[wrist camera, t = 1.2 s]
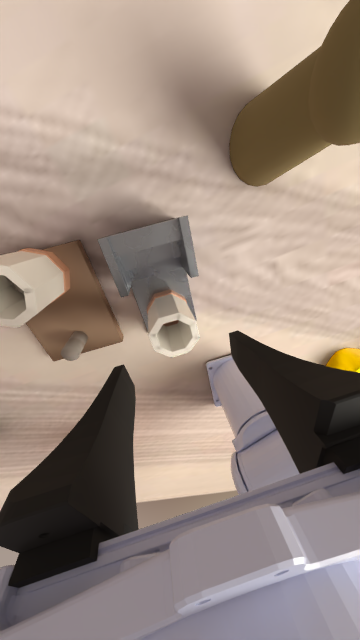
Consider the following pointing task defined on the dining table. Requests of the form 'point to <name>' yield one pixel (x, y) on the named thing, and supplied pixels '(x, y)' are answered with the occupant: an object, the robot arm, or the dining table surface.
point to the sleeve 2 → (171, 324)
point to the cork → (303, 108)
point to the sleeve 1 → (29, 284)
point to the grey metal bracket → (152, 261)
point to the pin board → (75, 311)
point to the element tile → (346, 360)
